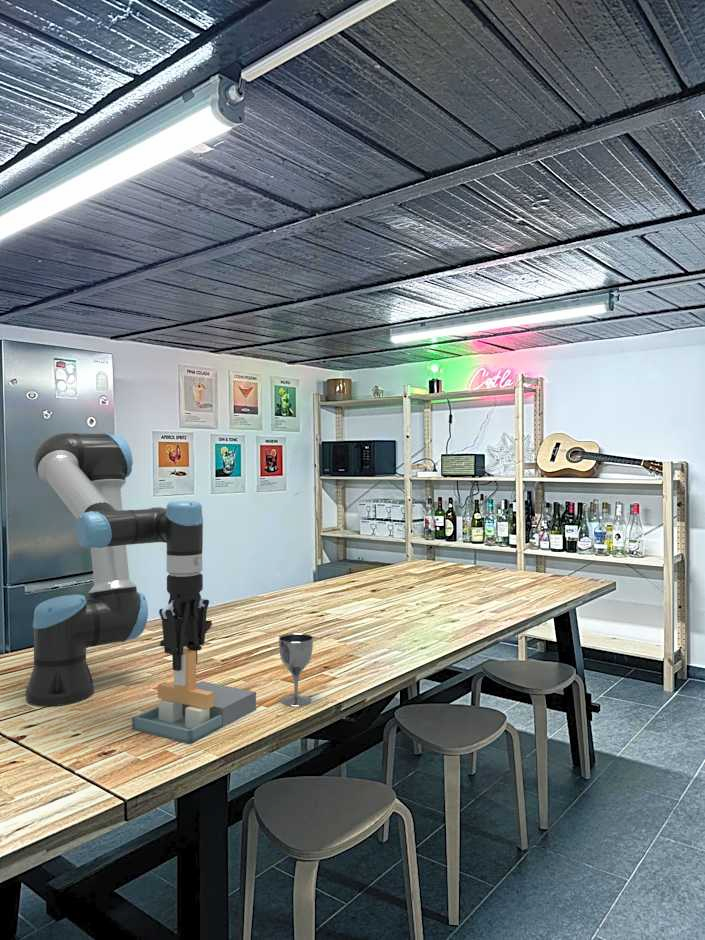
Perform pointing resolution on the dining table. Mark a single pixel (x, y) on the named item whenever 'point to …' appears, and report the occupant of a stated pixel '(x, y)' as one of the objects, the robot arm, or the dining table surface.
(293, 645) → the wine glass
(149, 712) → the blue-grey flat tray
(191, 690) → the orange t-shaped block
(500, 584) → the dining table surface
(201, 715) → the white rectangular block
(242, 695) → the grey drawer housing
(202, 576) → the robot arm
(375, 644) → the dining table surface
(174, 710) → the white cube block
